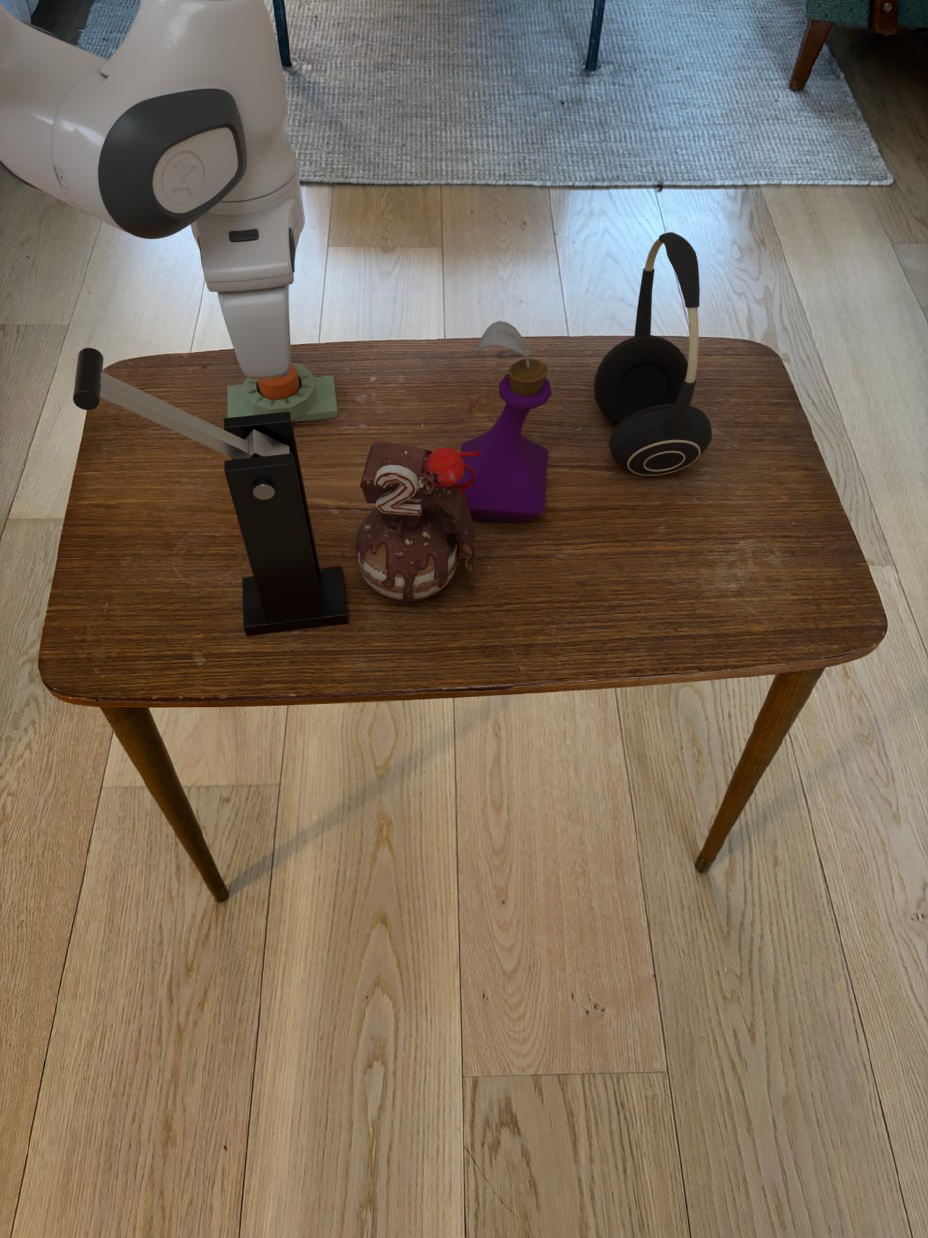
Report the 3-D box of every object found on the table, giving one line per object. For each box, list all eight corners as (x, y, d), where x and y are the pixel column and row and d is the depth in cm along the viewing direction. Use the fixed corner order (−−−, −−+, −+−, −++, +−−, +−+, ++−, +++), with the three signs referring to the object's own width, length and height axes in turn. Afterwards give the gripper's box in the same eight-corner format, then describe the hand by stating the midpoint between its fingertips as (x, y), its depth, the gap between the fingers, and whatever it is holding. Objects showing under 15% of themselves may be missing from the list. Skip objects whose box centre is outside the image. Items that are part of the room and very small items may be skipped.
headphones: (671, 388, 94) (713, 190, 78) (711, 502, 85) (768, 305, 69) (582, 395, 93) (606, 197, 77) (613, 510, 84) (647, 314, 68)
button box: (229, 434, 90) (224, 414, 88) (228, 387, 94) (223, 366, 92) (339, 423, 91) (336, 402, 89) (333, 377, 95) (331, 356, 93)
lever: (64, 408, 57) (83, 381, 56) (70, 364, 60) (88, 337, 58) (271, 500, 66) (291, 479, 65) (269, 458, 68) (289, 436, 67)
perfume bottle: (546, 475, 87) (562, 302, 72) (541, 540, 83) (557, 369, 68) (461, 470, 87) (460, 296, 73) (453, 533, 83) (449, 362, 68)
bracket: (246, 641, 76) (195, 479, 62) (244, 581, 80) (196, 415, 66) (349, 628, 77) (322, 466, 63) (343, 569, 81) (316, 403, 66)
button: (260, 402, 89) (257, 387, 88) (259, 376, 92) (256, 361, 90) (300, 398, 90) (297, 383, 88) (298, 372, 92) (295, 357, 90)
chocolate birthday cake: (482, 549, 82) (484, 412, 70) (468, 628, 77) (469, 496, 65) (370, 537, 83) (353, 400, 71) (350, 615, 78) (329, 481, 66)
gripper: (204, 139, 82) (236, 283, 93) (203, 287, 70) (240, 432, 81) (280, 133, 82) (303, 276, 94) (292, 279, 71) (316, 424, 82)
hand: (274, 350), depth 87 cm, fingers closed
